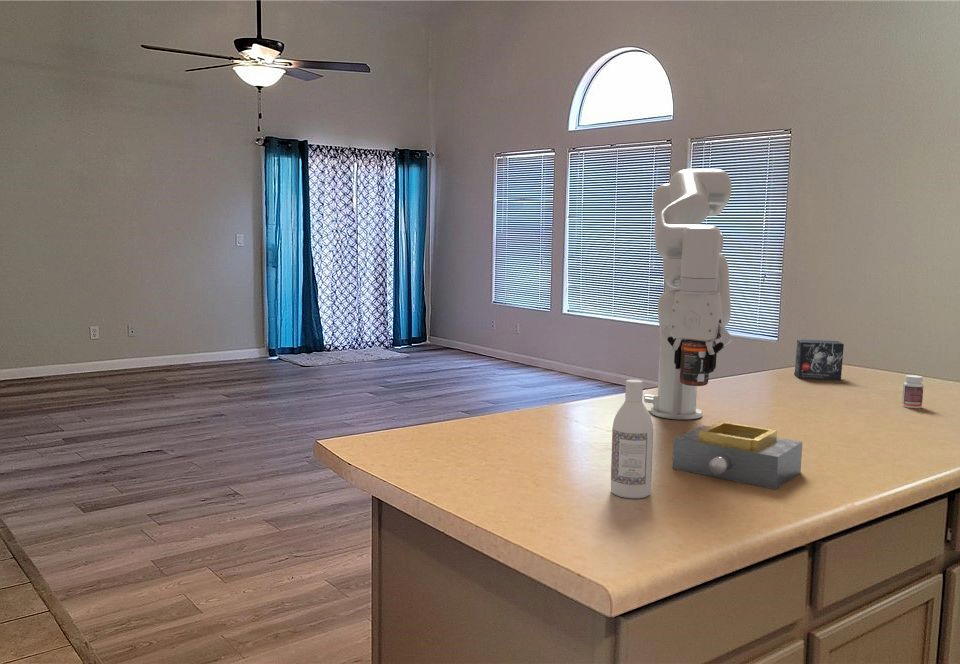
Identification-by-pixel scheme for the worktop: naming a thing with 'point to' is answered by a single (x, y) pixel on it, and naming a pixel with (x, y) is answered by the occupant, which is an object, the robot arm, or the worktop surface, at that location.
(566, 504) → the worktop surface
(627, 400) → the bath foam
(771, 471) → the grey boxy piece
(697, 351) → the supplement bottle
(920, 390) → the pill bottle
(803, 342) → the small box
